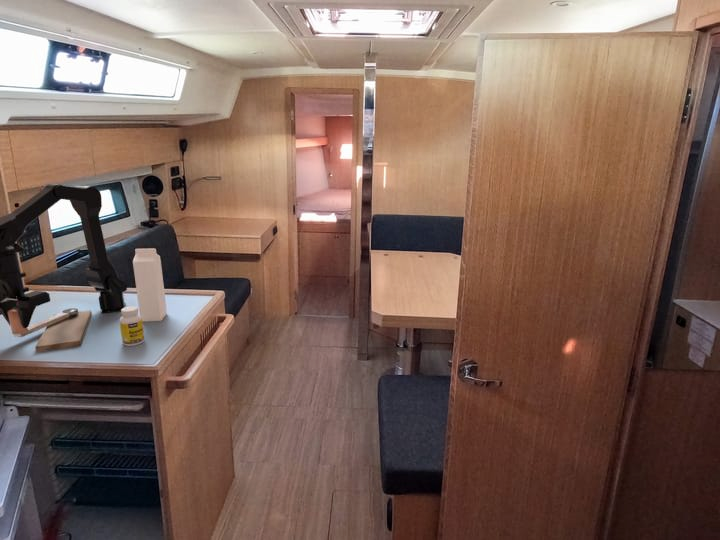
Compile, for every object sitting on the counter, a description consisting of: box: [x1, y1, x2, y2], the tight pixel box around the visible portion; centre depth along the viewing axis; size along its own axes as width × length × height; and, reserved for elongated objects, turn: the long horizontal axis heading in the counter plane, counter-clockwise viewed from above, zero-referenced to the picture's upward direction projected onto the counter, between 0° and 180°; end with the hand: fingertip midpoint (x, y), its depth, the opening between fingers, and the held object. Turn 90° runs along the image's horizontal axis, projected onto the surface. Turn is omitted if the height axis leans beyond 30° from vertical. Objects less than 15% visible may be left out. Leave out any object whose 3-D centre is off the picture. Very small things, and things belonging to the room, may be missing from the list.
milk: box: [132, 247, 168, 323], centre depth 139 cm, size 6×6×22 cm
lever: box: [8, 307, 79, 338], centre depth 131 cm, size 4×20×7 cm, turn 165°
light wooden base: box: [35, 309, 93, 353], centre depth 131 cm, size 10×24×2 cm, turn 23°
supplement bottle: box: [119, 305, 145, 347], centre depth 124 cm, size 5×5×10 cm
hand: (19, 326), depth 123 cm, fingers open, 4 cm apart
